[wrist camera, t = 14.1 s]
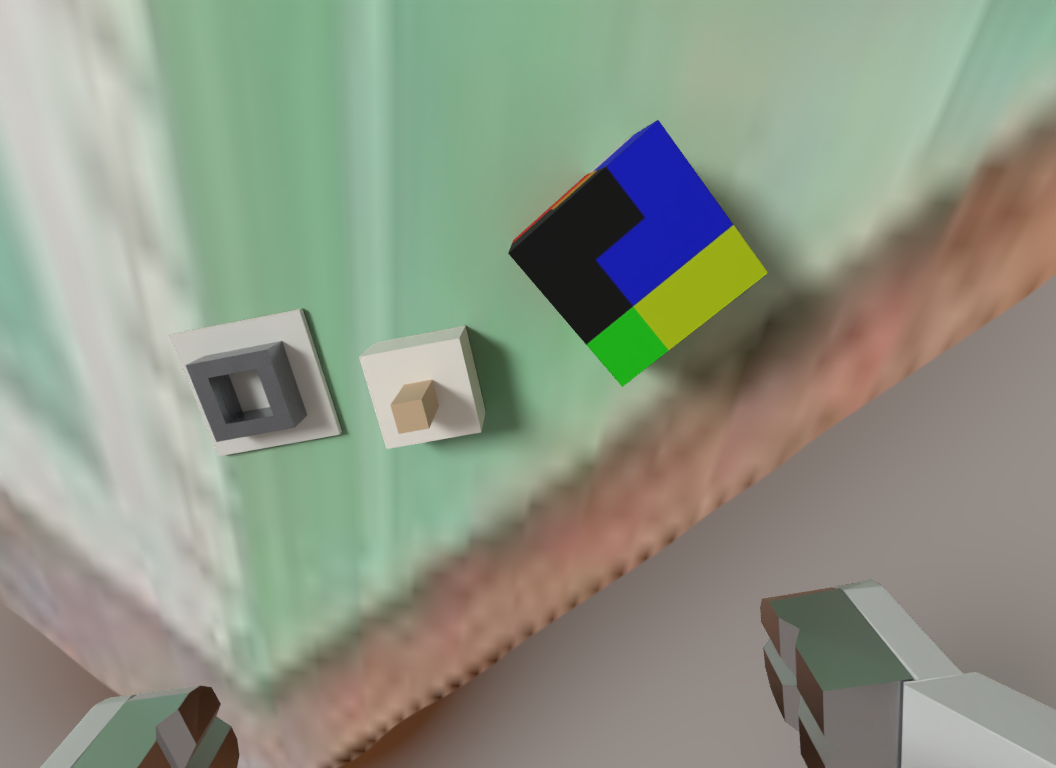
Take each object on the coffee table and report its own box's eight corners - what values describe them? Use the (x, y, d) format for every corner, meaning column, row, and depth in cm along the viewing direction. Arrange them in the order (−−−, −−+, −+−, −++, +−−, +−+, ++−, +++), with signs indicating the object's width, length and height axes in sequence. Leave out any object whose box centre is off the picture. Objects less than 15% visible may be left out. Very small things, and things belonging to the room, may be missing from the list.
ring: (205, 355, 41) (185, 365, 39) (282, 340, 41) (266, 349, 39) (233, 428, 43) (216, 442, 41) (307, 415, 43) (294, 427, 40)
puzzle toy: (625, 139, 37) (658, 119, 28) (711, 255, 40) (767, 273, 30) (513, 240, 39) (508, 253, 30) (601, 344, 42) (622, 386, 32)
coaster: (174, 333, 41) (169, 335, 41) (302, 308, 41) (299, 309, 40) (222, 453, 45) (218, 456, 44) (342, 431, 44) (339, 434, 43)
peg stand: (374, 342, 42) (340, 374, 34) (465, 325, 41) (451, 353, 34) (398, 427, 44) (371, 475, 36) (485, 411, 43) (476, 456, 36)
